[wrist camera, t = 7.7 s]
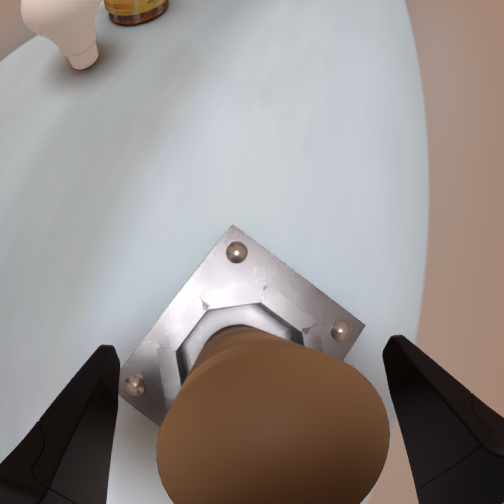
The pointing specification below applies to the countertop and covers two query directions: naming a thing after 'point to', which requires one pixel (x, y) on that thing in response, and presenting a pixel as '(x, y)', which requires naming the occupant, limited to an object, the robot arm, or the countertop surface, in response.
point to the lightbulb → (65, 26)
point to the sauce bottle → (134, 10)
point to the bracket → (231, 319)
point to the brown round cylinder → (271, 426)
